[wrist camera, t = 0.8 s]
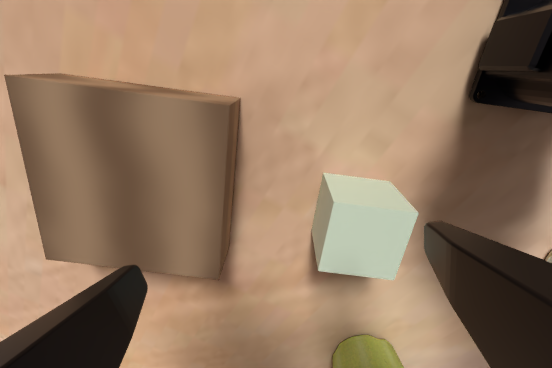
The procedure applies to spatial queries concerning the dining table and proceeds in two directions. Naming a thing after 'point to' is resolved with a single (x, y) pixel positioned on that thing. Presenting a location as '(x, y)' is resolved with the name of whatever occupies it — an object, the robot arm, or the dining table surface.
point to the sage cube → (361, 226)
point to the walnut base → (128, 171)
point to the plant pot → (365, 353)
